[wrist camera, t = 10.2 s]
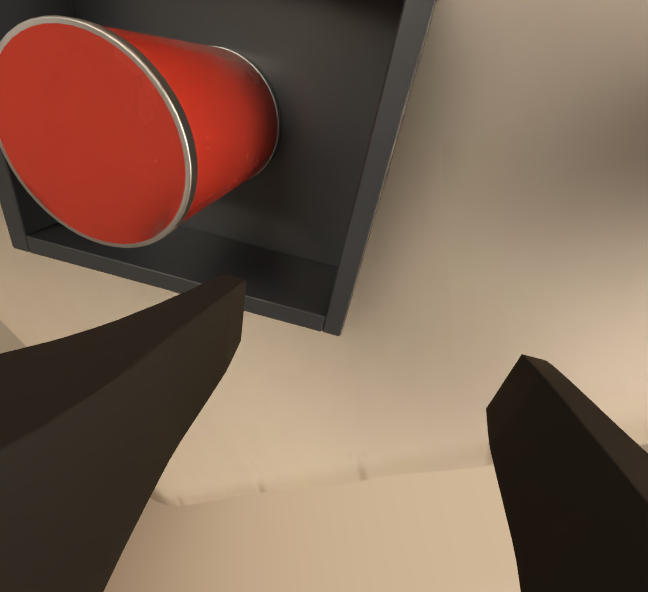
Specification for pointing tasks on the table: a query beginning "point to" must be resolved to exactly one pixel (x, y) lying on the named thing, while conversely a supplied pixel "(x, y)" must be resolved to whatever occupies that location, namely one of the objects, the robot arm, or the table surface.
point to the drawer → (289, 160)
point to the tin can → (129, 125)
